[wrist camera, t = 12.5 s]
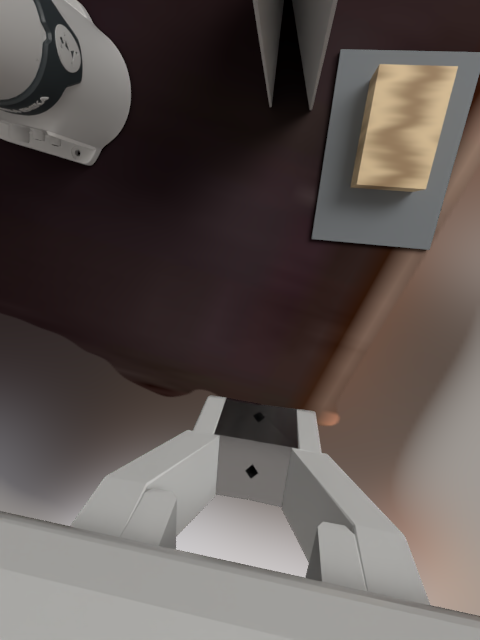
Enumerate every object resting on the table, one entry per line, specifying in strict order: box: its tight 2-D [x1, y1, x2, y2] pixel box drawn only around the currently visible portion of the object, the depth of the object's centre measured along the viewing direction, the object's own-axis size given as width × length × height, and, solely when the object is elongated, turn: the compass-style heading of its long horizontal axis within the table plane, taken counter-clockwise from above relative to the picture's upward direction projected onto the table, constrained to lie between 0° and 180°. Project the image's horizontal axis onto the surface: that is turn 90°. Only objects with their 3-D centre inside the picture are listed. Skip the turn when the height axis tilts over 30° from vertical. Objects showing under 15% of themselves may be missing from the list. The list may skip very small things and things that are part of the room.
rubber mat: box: [311, 49, 480, 250], centre depth 39 cm, size 16×22×1 cm
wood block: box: [350, 64, 458, 192], centre depth 36 cm, size 8×4×12 cm
